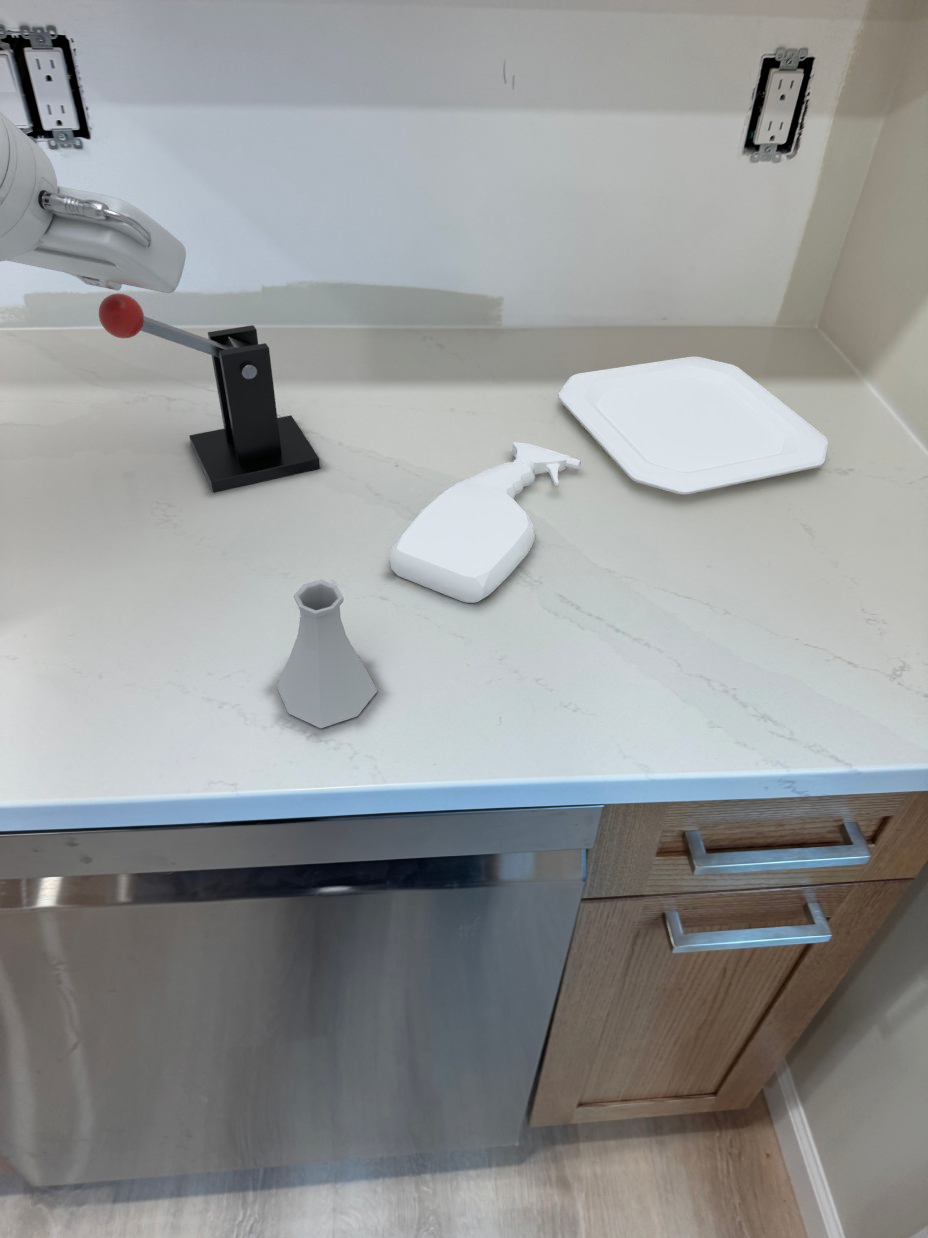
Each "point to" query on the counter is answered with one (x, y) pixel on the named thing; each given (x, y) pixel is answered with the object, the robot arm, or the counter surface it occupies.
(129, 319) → the lever
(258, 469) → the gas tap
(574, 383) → the plate
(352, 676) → the flask
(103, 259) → the robot arm
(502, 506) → the spray bottle
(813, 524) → the counter surface
